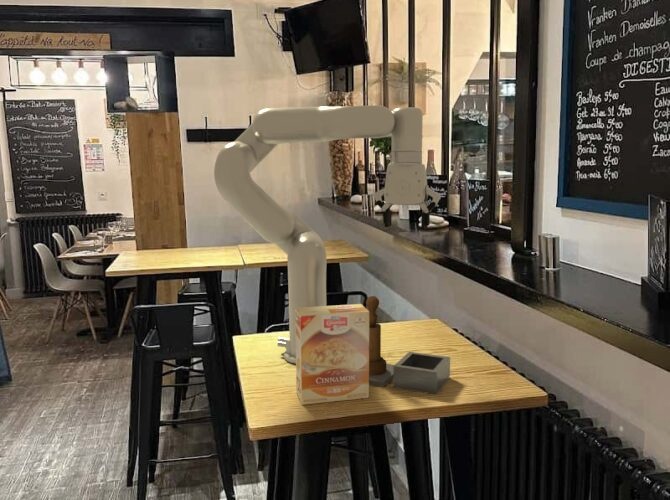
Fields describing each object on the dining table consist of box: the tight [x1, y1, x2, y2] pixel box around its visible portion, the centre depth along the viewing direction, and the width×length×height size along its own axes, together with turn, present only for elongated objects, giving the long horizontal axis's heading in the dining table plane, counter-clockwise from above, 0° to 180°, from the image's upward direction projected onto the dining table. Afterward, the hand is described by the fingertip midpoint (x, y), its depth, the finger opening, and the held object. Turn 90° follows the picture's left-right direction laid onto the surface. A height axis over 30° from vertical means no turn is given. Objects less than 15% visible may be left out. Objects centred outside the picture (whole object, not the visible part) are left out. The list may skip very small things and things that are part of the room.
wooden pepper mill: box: [365, 296, 387, 375], centre depth 147 cm, size 7×6×18 cm
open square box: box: [392, 351, 451, 395], centre depth 143 cm, size 10×11×5 cm
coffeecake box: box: [295, 303, 370, 406], centre depth 135 cm, size 15×7×20 cm, turn 103°
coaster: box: [369, 363, 395, 387], centre depth 148 cm, size 10×12×1 cm
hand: (406, 227), depth 157 cm, fingers open, 9 cm apart
